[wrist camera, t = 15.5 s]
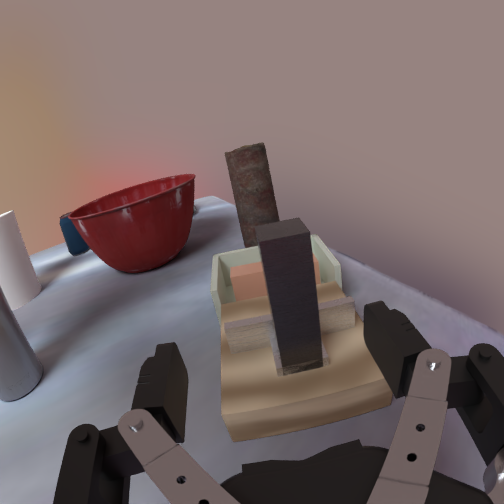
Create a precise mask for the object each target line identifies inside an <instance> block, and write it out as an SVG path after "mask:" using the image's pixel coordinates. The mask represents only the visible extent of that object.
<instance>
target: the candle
mask: <svg viewBox="0 0 504 504" xmlns="http://www.w3.org/2000/svg"><path fill="white" fill-rule="evenodd" d="M225 157H226V162H227V166H228V170H229V175H230V180H231V184H232V189H233V194H234V199H235V203H236V208H237V213H238V218H239V222H240V227H241V232H242V236H243V240H244V245H245V248H249V247H254V246H258V242H257V237H256V232H255V227H254V226H259V225H264V224H269V223H274V222H279V216H278V211H277V207H276V201H275V196H274V190H273V185H272V181H271V175H270V171H269V164H268V160H267V155H266V149H265V145H264V143H258V144H254V145H246V146H242V147H241V148H238V149H235V150H234V151H231V152H225Z"/></svg>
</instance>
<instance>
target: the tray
mask: <svg viewBox="0 0 504 504" xmlns="http://www.w3.org/2000/svg"><path fill="white" fill-rule="evenodd" d="M310 236H311V244H312V252H313V254H314V255H315V257H316V258H317V260H318V262H319V271H320V281H321V284H323V283H327V282H331V281H336V282H337V284H338V285H339V287H340V288H341V290H342V279H341V265H340V263H339V262H338V261H337V259H336V258H335V257H334V256H333V254H332V253H331V252H330V251H329V249H328V248H327V247H326V246H325V244H324V243H323V242H322V241H321V239H320V238H319V237H318V236H317V234H314V235H310ZM256 262H261V258H260V253H259V248H258V246H254V247H249V248H244V249H239V250H234V251H229V252H224V253H220V254H215V255H213V263H212V276H211V290H210V292H211V296H212V299H213V303H214V306H215V310H216V313H217V317H218V320H219V324H220V327H221V304H226V303H231V302H236V299H235V295H234V290H233V286H232V282H231V278H230V270H231V267H235V266H240V265H245V264H251V263H256Z"/></svg>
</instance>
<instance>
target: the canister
mask: <svg viewBox="0 0 504 504" xmlns="http://www.w3.org/2000/svg"><path fill="white" fill-rule="evenodd" d="M0 286H1V288H2V291H3V293H4V295H5V297H6V299H7V302H8V304H9V306H10V308H11V310H12V311H13V310H15V309H18V308H20V307H22V306H23V305H25V304H27V303H28V302H30V301H31V300H32V299H34V298H35V297H36V296H37V295H38V294H39V293H40V291H41V289H42V288H41V285H40V283H39V280H38V278H37V276H36V273H35V271H34V268H33V266H32V263H31V261H30V258H29V255H28V253H27V250H26V247H25V244H24V242H23V239H22V236H21V233H20V230H19V227H18V224H17V221H16V218H15V215H14V211H13V210H12V211H9V212H6V213H4V214H1V215H0Z"/></svg>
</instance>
